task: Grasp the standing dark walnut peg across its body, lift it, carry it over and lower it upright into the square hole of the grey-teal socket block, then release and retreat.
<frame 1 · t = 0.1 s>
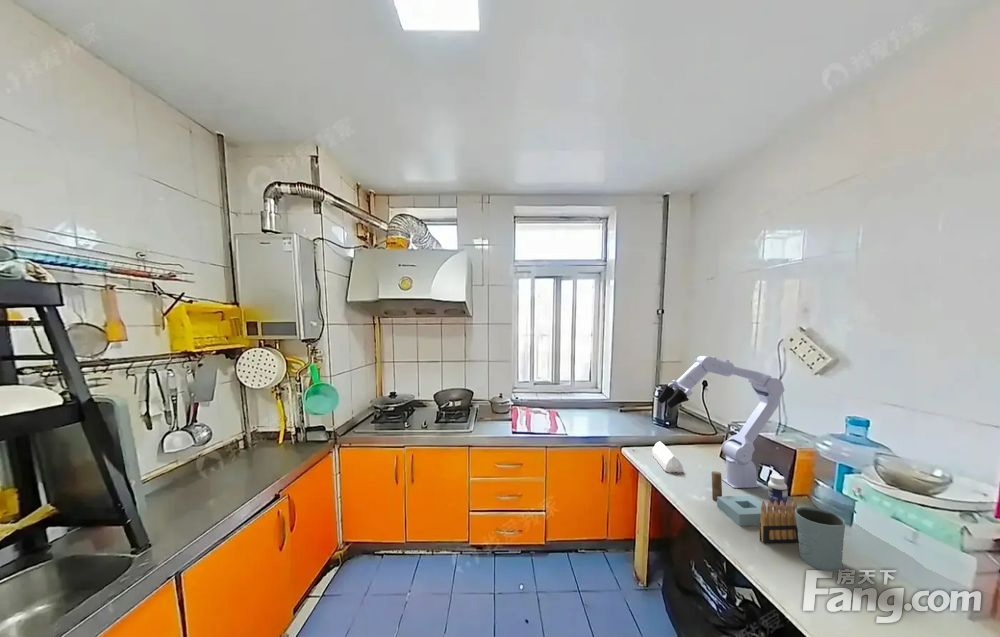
hand: (663, 403, 147), 32 cm above the table, tool tilted 50°, fingers open, 7 cm apart
pill bottle: (778, 505, 130), on the table
socket block: (746, 515, 124), on the table
ammunition clip: (780, 542, 109), on the table
crystal: (666, 464, 170), on the table
walnut peg: (717, 499, 135), on the table
grey plant pot: (821, 561, 100), on the table
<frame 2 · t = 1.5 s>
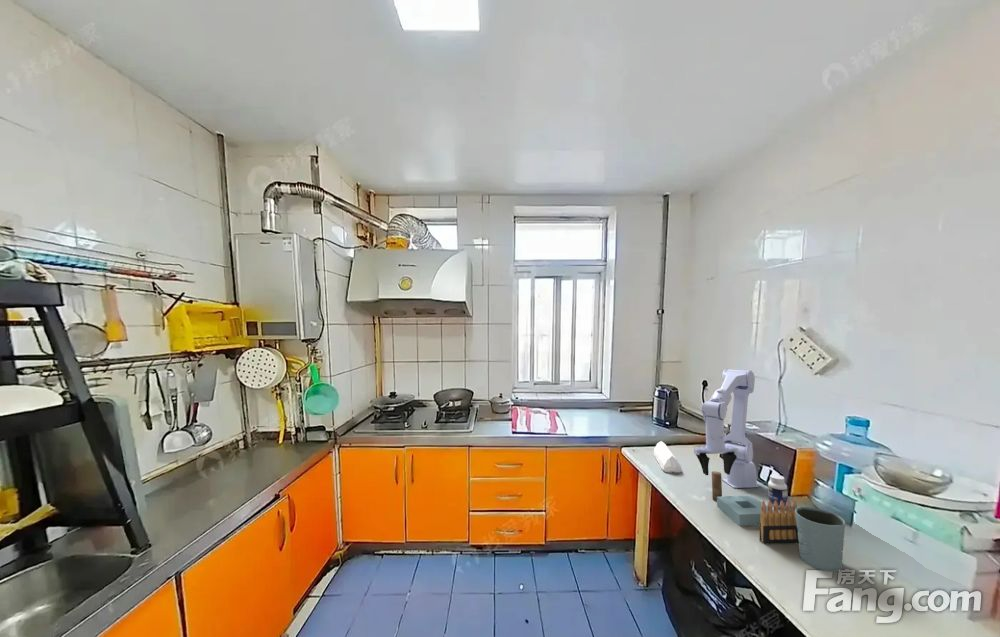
hand: (716, 473, 135), 9 cm above the table, tool pointing down, fingers open, 7 cm apart
nothing on the table moved.
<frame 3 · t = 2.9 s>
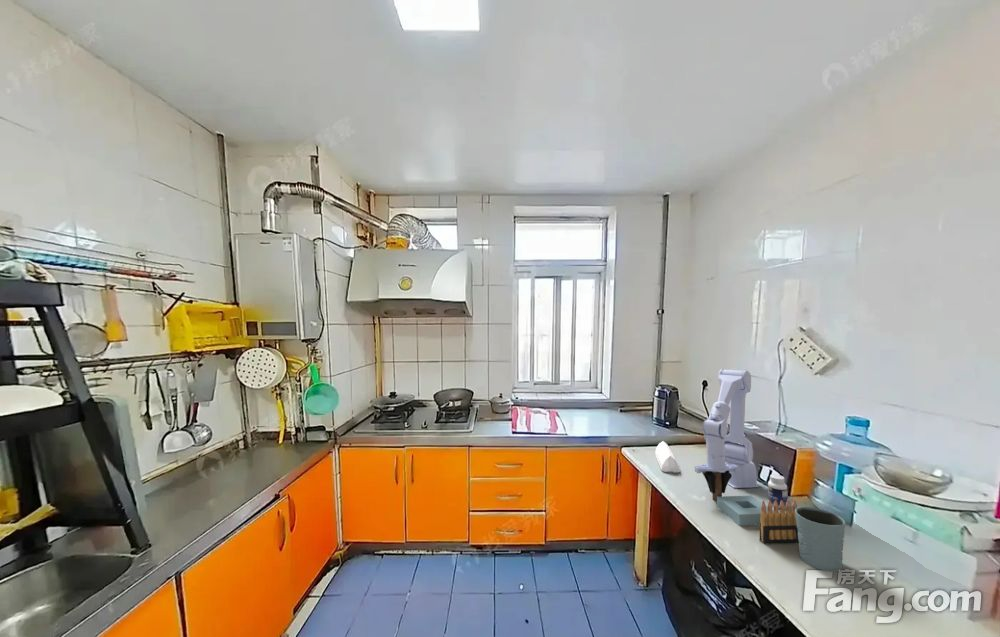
hand: (717, 492, 135), 3 cm above the table, tool pointing down, fingers closed on walnut peg, 3 cm apart
walnut peg: (717, 499, 135), on the table, touching gripper
everything else where it was.
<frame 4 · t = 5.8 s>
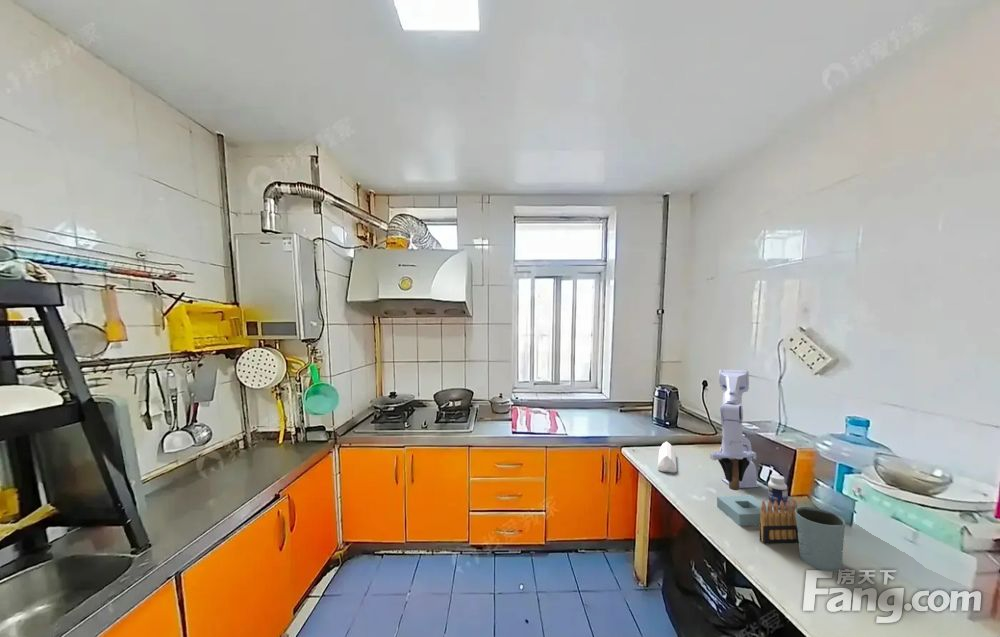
hand: (733, 480, 128), 10 cm above the table, tool pointing down, fingers closed on walnut peg, 3 cm apart
walnut peg: (734, 488, 128), point 7 cm above the table, touching gripper
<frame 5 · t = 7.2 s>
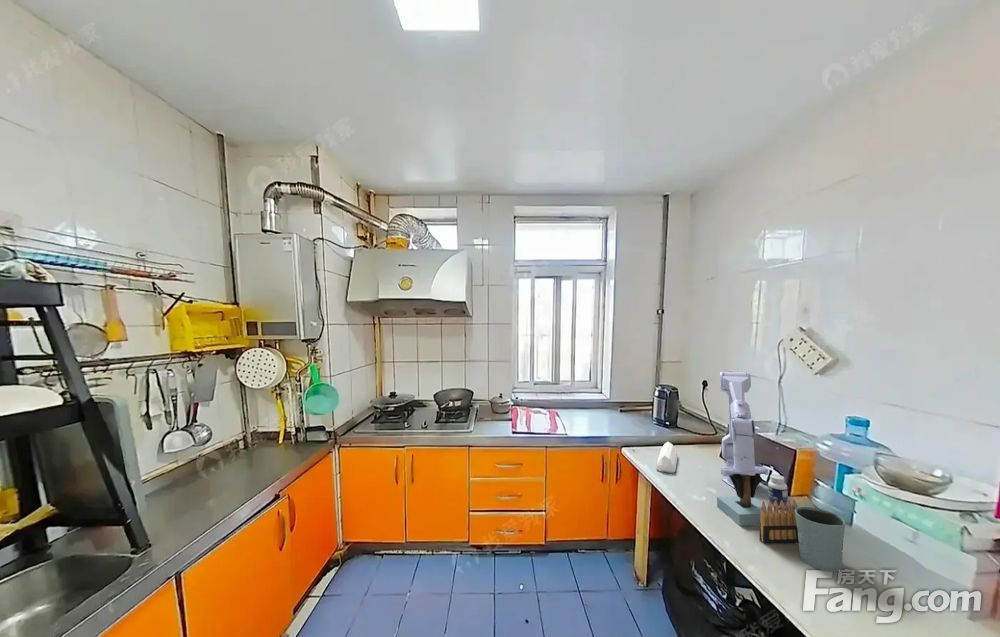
hand: (745, 496, 124), 6 cm above the table, tool pointing down, fingers closed on walnut peg, 3 cm apart
walnut peg: (745, 505, 124), point 3 cm above the table, touching gripper
when the fingers open (5 cm above the table, at t = 8.6 s): walnut peg drops 2 cm, resting in socket block.
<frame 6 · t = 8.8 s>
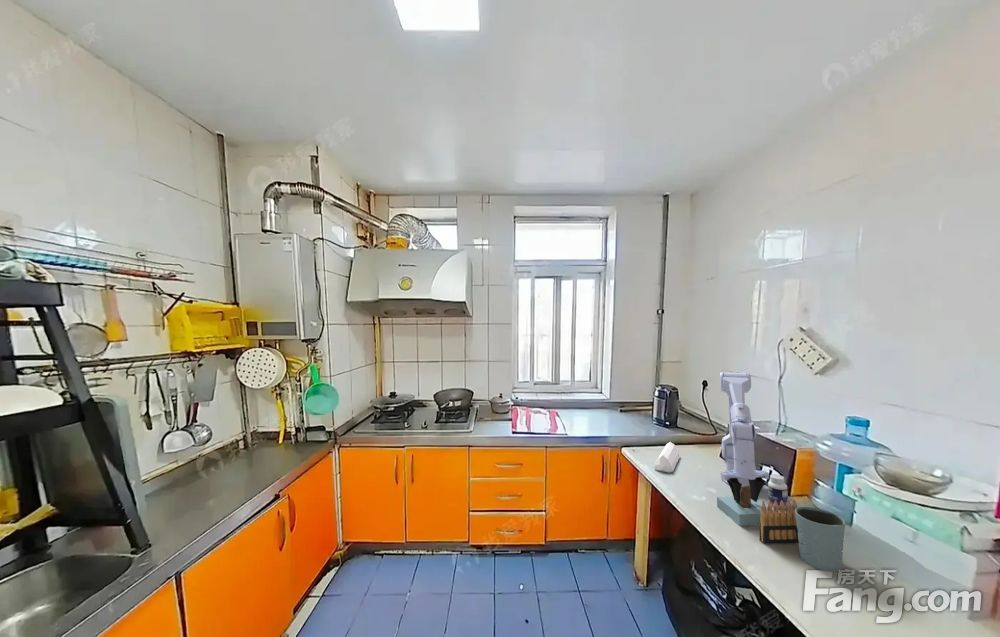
hand: (745, 500, 124), 5 cm above the table, tool pointing down, fingers open, 5 cm apart
walnut peg: (746, 515, 124), resting in socket block
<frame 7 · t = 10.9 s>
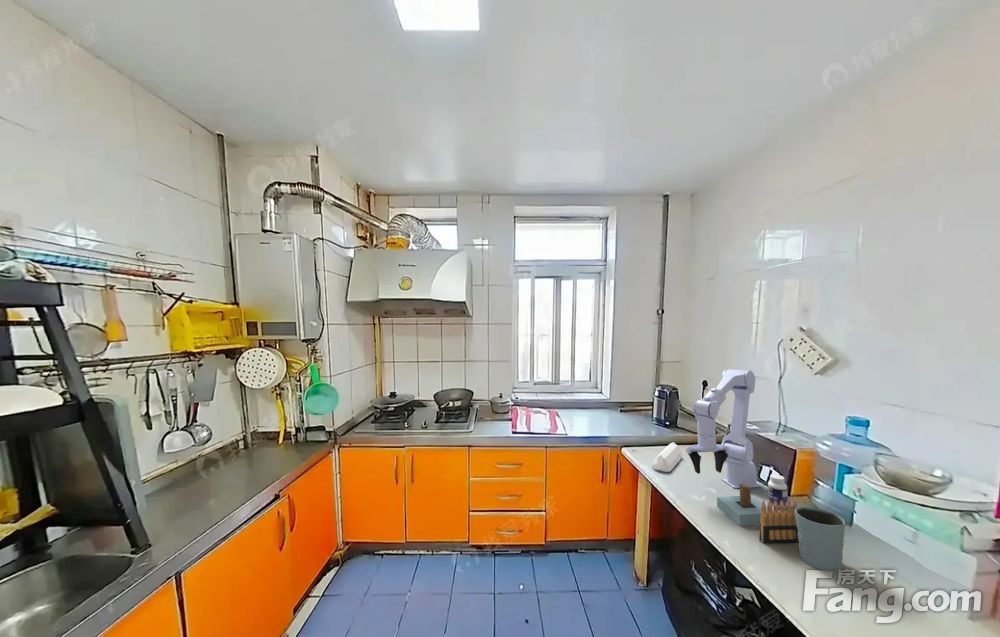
hand: (708, 472, 137), 9 cm above the table, tool pointing down, fingers open, 7 cm apart
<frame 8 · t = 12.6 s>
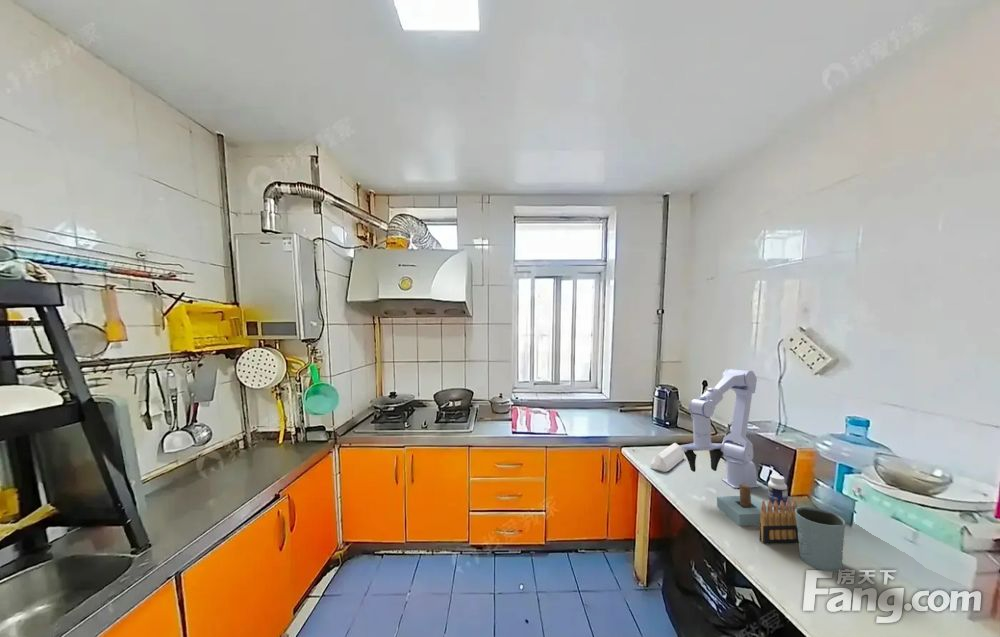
hand: (703, 470, 138), 9 cm above the table, tool pointing down, fingers open, 7 cm apart
at the end: walnut peg 0.0 cm off-centre on the socket block, point 0.0 cm above the socket block's base; walnut peg tilted 0°; the gripper is holding nothing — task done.
